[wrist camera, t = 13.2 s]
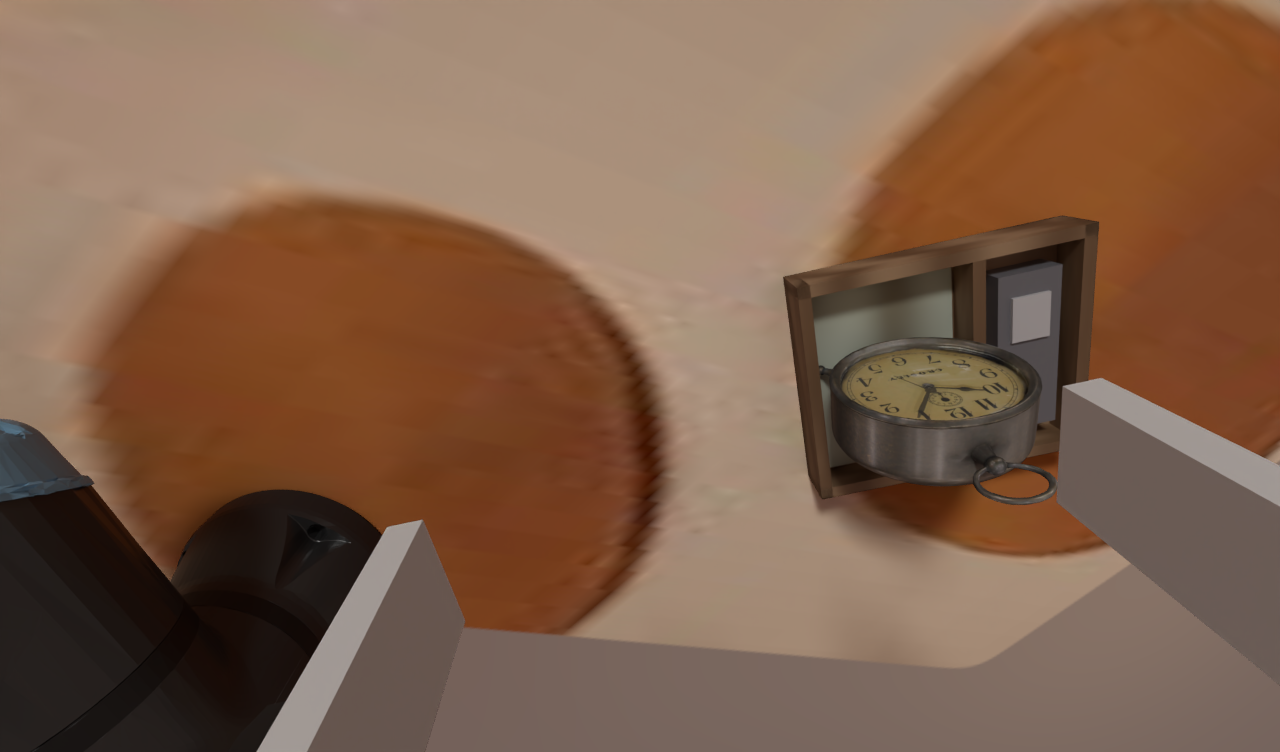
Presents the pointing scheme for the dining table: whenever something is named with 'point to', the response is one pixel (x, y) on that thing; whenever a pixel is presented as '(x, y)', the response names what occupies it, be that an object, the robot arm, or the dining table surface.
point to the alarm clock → (937, 412)
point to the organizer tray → (927, 321)
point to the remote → (1028, 320)
